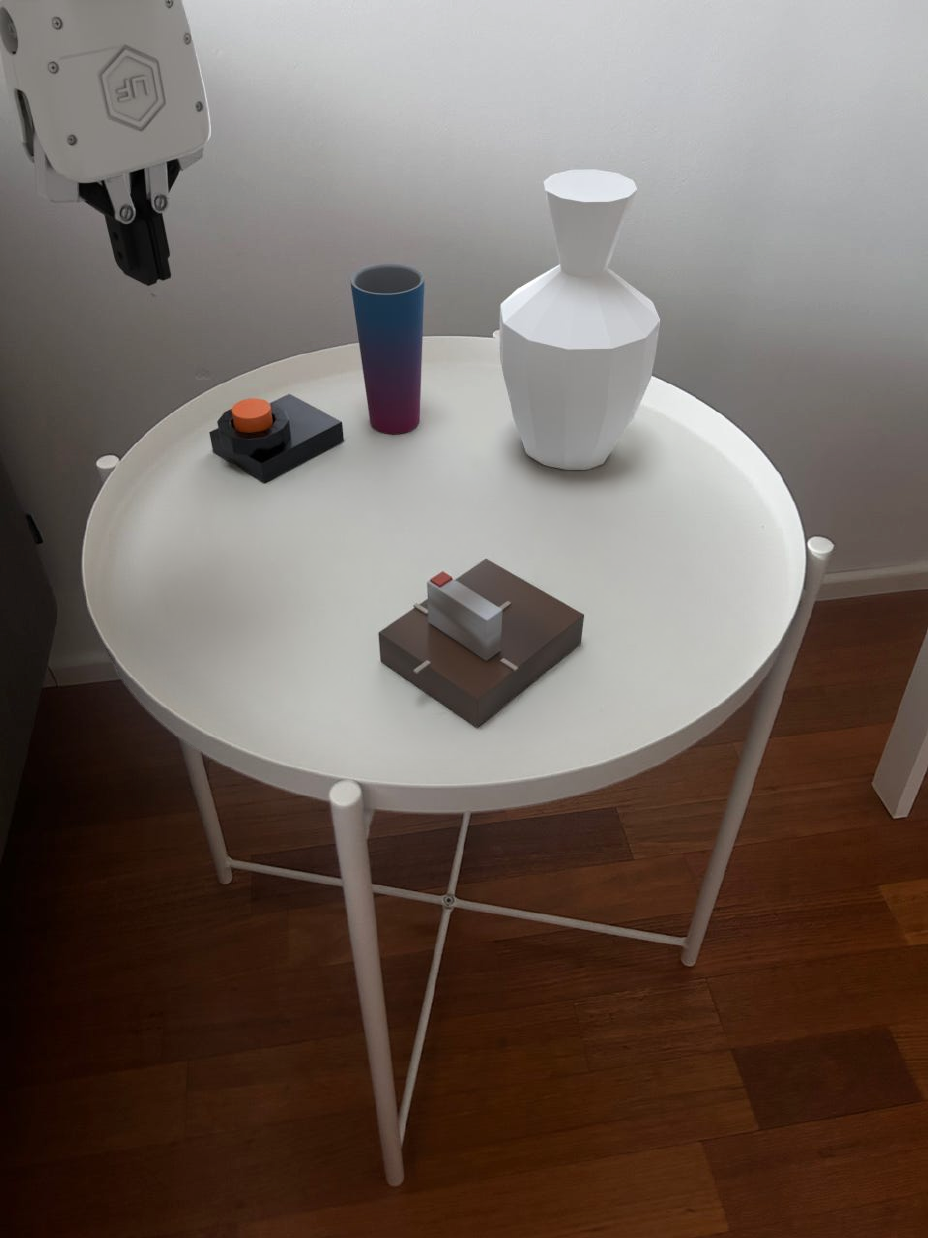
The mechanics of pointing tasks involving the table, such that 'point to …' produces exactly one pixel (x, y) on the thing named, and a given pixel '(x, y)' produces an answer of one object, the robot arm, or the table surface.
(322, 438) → the button box
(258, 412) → the button
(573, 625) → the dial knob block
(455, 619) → the grey rectangular block
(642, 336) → the vase
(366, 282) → the cup
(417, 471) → the table surface
